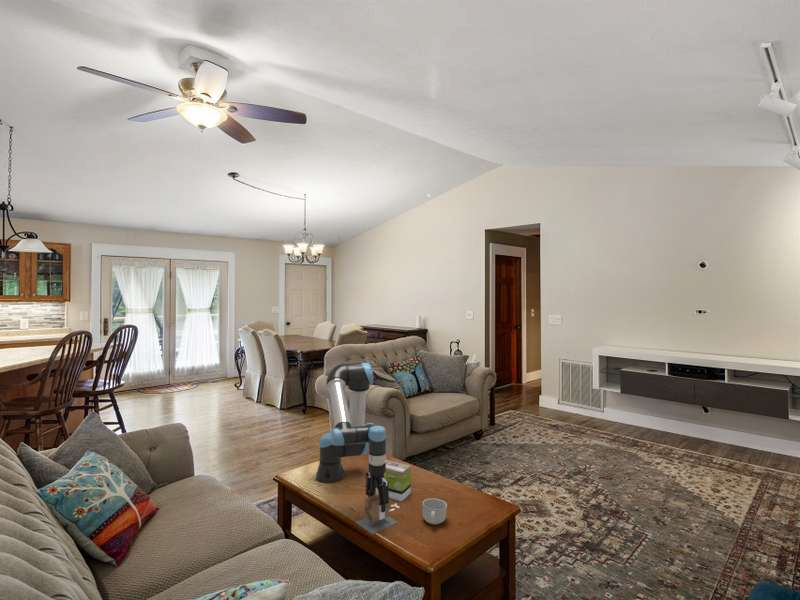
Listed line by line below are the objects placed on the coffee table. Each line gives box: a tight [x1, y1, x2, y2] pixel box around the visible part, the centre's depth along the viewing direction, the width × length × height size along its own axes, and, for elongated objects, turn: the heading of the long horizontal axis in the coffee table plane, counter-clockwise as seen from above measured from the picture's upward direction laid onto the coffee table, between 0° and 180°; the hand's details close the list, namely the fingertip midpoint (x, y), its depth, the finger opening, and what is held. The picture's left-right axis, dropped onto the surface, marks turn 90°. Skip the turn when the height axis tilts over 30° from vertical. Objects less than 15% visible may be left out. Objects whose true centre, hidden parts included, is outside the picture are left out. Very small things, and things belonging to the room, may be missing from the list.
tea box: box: [375, 459, 412, 502], centre depth 218 cm, size 15×10×15 cm, turn 62°
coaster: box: [355, 515, 399, 535], centre depth 191 cm, size 12×14×1 cm
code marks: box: [389, 502, 400, 513], centre depth 204 cm, size 4×8×1 cm, turn 131°
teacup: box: [422, 497, 448, 526], centre depth 191 cm, size 14×11×8 cm
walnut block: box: [364, 493, 390, 522], centre depth 190 cm, size 6×9×8 cm, turn 131°
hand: (377, 515), depth 190 cm, fingers closed on walnut block, 6 cm apart
